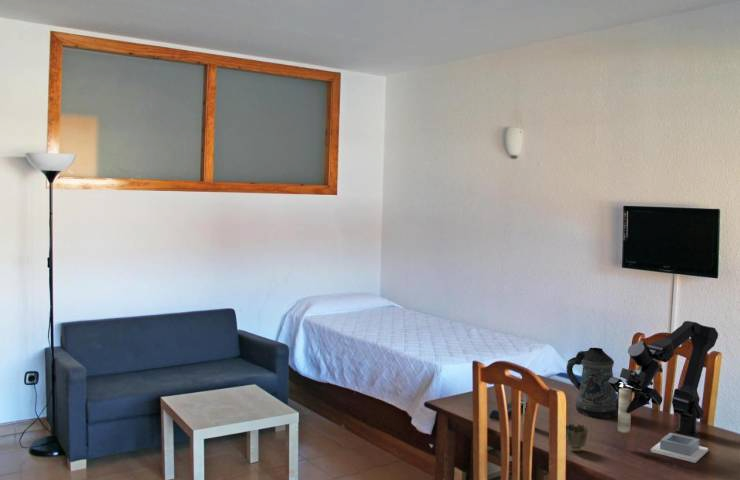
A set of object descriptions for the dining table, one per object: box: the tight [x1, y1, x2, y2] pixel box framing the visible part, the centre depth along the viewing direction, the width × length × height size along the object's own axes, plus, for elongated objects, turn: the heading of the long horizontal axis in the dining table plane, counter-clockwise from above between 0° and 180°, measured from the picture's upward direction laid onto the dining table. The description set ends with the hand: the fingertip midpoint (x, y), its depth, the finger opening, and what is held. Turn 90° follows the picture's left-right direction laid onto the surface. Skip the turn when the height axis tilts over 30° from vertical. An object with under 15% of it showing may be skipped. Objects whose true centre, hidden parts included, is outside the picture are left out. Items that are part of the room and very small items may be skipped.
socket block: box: [650, 432, 709, 464], centre depth 231 cm, size 14×14×4 cm
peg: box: [617, 388, 633, 434], centre depth 233 cm, size 4×4×14 cm
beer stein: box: [565, 347, 618, 419], centre depth 272 cm, size 16×19×25 cm
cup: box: [565, 423, 589, 453], centre depth 231 cm, size 8×7×8 cm
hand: (621, 410), depth 232 cm, fingers closed on peg, 4 cm apart
